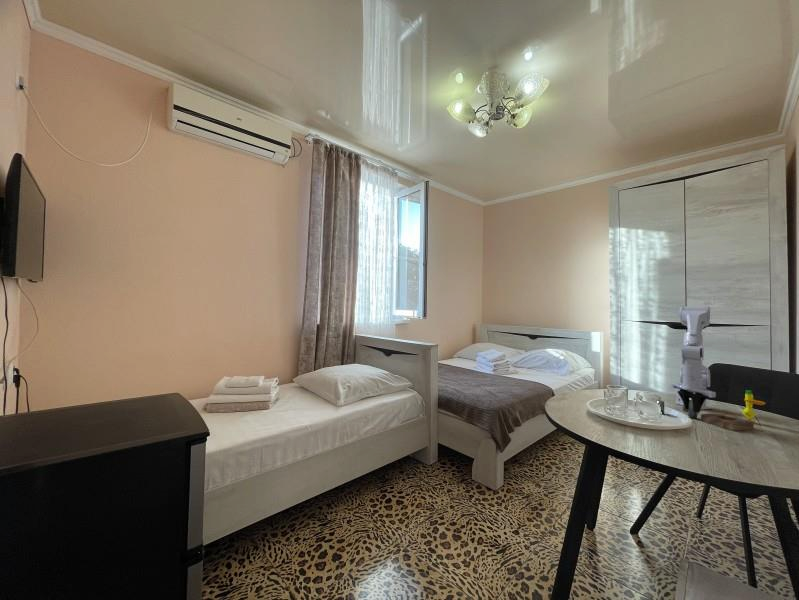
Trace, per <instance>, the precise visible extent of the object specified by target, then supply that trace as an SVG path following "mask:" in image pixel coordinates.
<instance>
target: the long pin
mask: <svg viewBox="0 0 799 600" xmlns="http://www.w3.org/2000/svg"><path fill="white" fill-rule="evenodd" d="M687 416H688V418H692V419H697V418H698V412H694V410H693V400H692V397H688V412H687Z"/></svg>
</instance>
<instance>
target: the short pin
mask: <svg viewBox="0 0 799 600" xmlns="http://www.w3.org/2000/svg"><path fill="white" fill-rule="evenodd" d="M682 411H683V412H685V413H688V410H686V409H685V407H684V403H683V405H682Z"/></svg>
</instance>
